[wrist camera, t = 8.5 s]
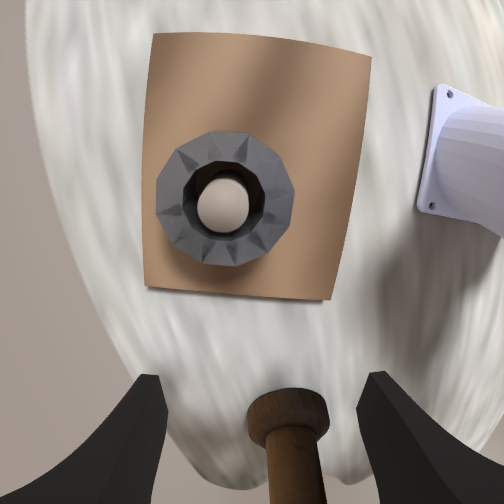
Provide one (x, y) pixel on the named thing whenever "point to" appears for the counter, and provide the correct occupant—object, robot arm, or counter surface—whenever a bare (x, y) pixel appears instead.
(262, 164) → the hub ring
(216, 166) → the post board
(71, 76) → the counter surface
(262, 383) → the counter surface
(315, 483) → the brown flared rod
